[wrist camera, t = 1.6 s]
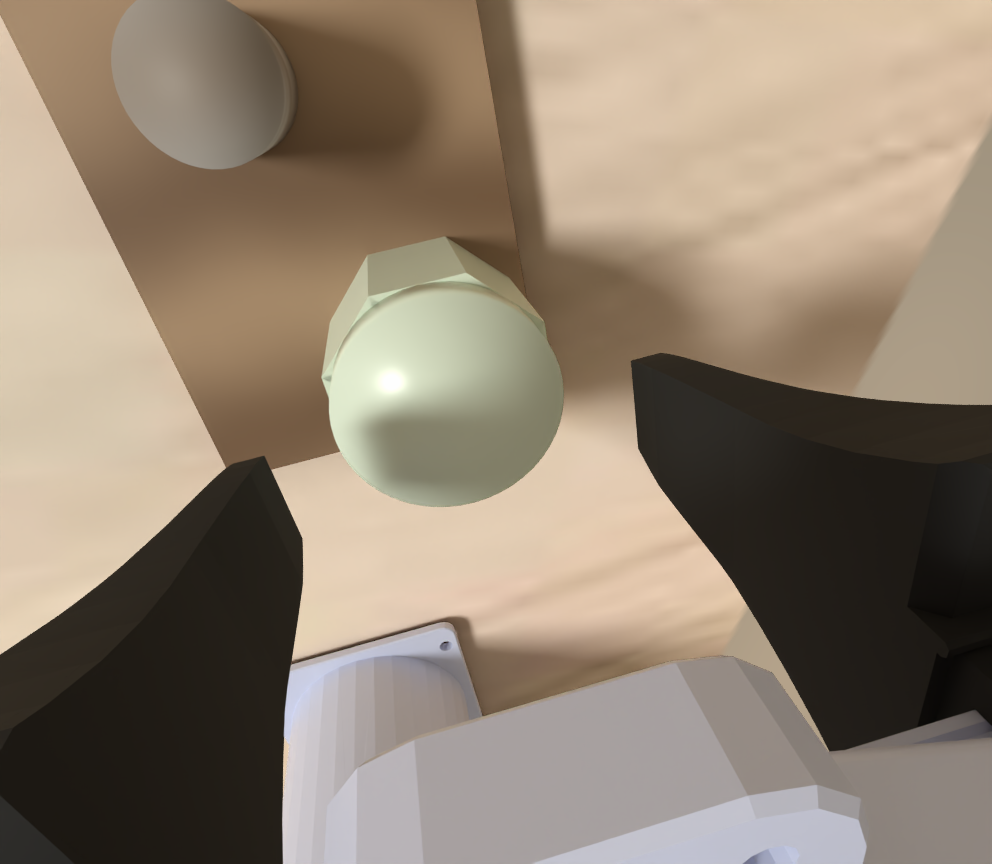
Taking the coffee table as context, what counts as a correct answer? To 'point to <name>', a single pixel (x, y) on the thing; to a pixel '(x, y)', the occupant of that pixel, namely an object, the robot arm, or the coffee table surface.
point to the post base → (270, 174)
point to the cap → (439, 377)
